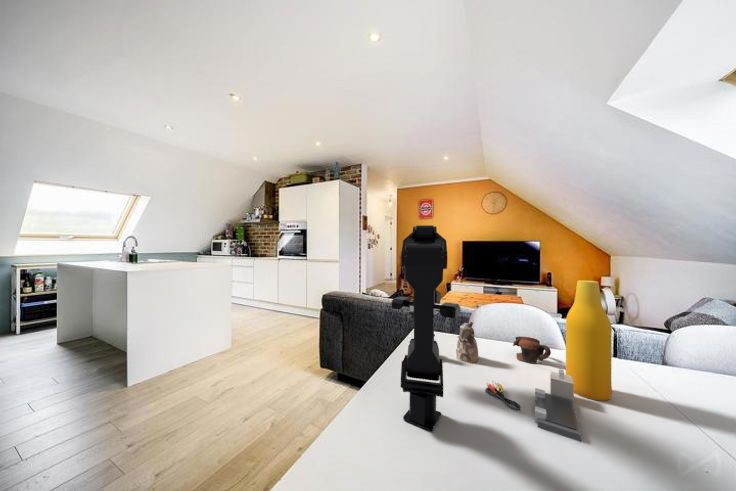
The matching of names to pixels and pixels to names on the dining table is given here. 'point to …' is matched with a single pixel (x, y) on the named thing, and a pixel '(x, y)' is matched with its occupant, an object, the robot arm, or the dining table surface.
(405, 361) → the robot arm
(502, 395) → the composite cable
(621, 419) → the dining table surface
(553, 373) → the brick
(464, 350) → the figurine
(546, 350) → the pottery mug
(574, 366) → the beer bottle
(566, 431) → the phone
